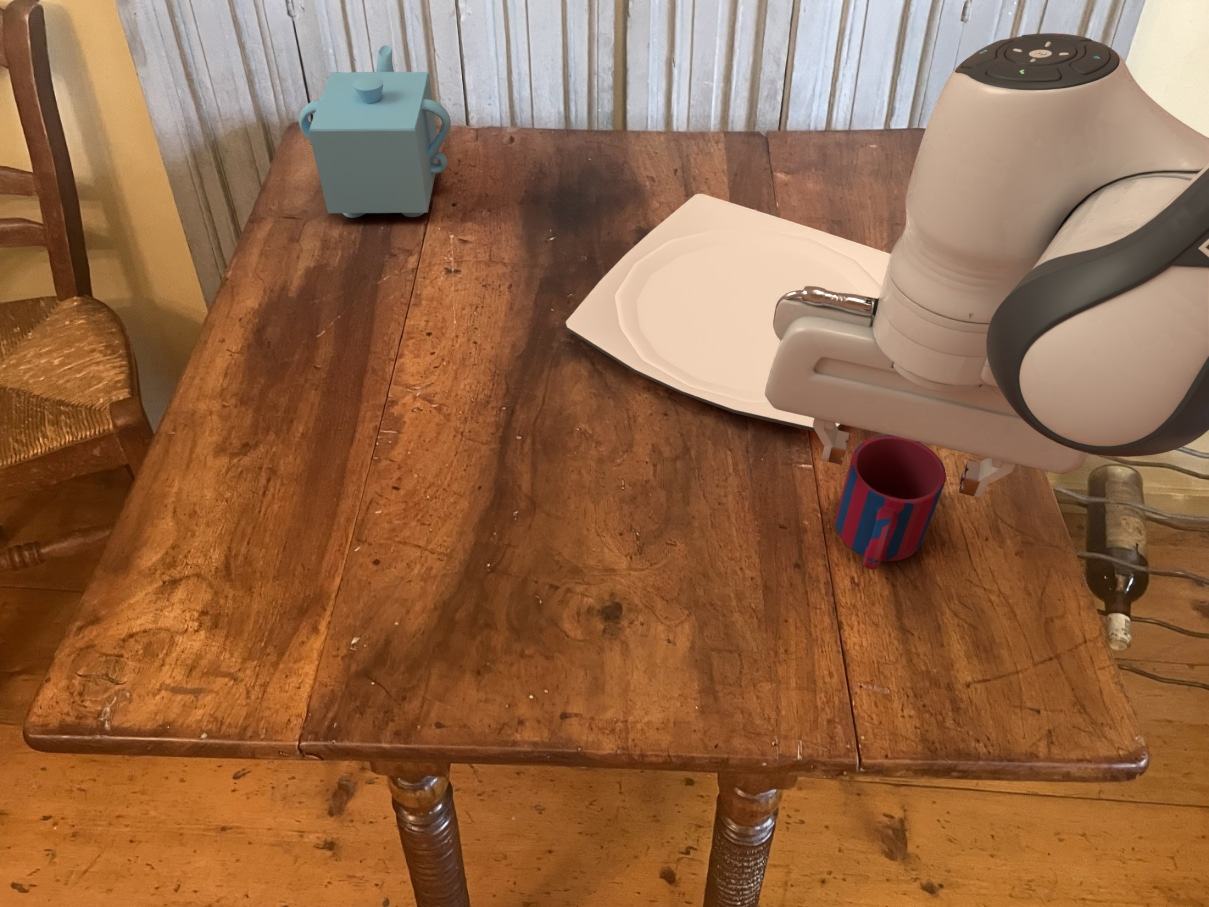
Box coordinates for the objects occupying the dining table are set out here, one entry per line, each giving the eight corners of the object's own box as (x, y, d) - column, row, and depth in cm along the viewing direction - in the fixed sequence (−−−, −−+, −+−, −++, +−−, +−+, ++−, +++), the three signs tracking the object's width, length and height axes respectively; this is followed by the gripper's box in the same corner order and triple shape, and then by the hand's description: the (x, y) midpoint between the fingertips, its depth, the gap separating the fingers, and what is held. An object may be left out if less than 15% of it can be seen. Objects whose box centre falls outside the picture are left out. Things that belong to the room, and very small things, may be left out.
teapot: (454, 225, 104) (439, 110, 95) (306, 226, 104) (276, 111, 95) (467, 139, 117) (456, 30, 107) (335, 140, 116) (312, 30, 107)
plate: (835, 471, 80) (841, 448, 78) (543, 350, 90) (542, 328, 88) (948, 289, 97) (955, 266, 95) (690, 204, 107) (692, 183, 105)
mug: (934, 514, 77) (956, 454, 72) (895, 608, 71) (918, 549, 66) (851, 483, 79) (868, 423, 74) (807, 572, 73) (822, 512, 68)
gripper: (769, 311, 58) (743, 468, 69) (1135, 387, 54) (1051, 543, 64) (789, 252, 63) (762, 409, 73) (1131, 318, 58) (1052, 475, 68)
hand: (900, 472), depth 68 cm, fingers open, 8 cm apart
